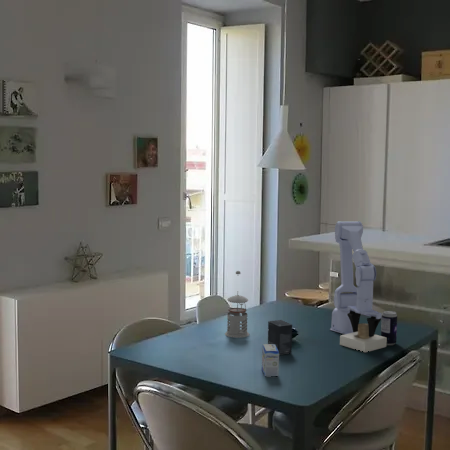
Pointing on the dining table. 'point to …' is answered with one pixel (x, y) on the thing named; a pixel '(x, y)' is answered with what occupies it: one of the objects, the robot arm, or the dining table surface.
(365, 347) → the socket block
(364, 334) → the beech peg
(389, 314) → the beverage can
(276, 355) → the medicine box
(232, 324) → the french press
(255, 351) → the dining table surface
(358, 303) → the robot arm
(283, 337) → the box
